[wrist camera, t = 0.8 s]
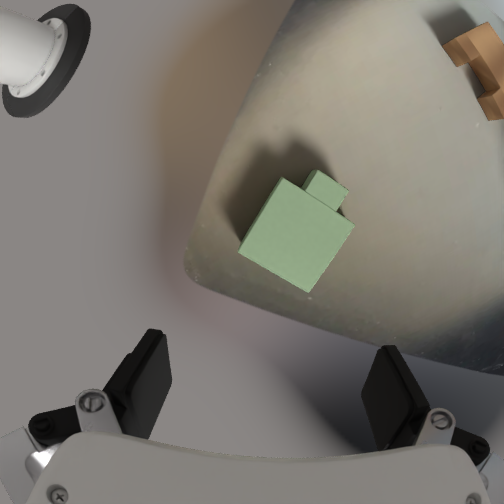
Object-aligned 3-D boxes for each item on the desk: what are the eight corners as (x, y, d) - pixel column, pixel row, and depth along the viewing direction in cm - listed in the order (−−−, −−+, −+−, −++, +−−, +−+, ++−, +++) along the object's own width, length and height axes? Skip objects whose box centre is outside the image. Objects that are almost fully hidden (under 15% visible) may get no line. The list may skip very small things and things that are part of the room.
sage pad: (240, 242, 25) (237, 252, 22) (292, 157, 23) (296, 155, 20) (304, 279, 26) (308, 293, 23) (357, 200, 23) (368, 204, 20)
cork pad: (441, 46, 17) (455, 37, 14) (475, 27, 15) (487, 21, 12) (488, 120, 19) (504, 119, 16) (515, 92, 17) (529, 90, 14)
